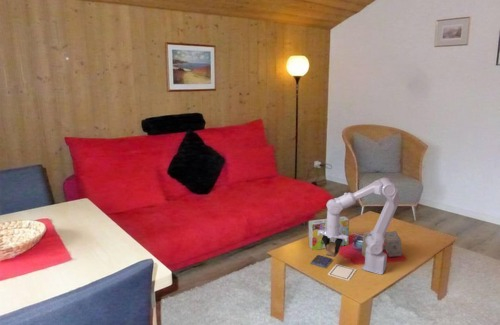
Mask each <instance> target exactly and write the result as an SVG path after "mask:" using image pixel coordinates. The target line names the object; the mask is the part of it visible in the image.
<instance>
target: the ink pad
mask: <svg viewBox="0 0 500 325" xmlns="http://www.w3.org/2000/svg"><path fill="white" fill-rule="evenodd" d="M332 262H333V258H331V257H329V256H328V257H327V256H325V255H321V254H317V255H316V256H315V257H314V258H313V259H312V260H311V261H310V262H309V264H310V265H312V266H315V267H316V266H317V267H319V268H323V269H327V267H328V266H329V265H330V264H331V263H332Z"/></svg>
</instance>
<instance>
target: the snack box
mask: <svg viewBox="0 0 500 325" xmlns="http://www.w3.org/2000/svg"><path fill="white" fill-rule="evenodd" d="M319 230H325V231H327V218H322V219H321V218H320V219H314V220H308V247H309V249H311V250H312V251H316V250H323V249H326V247H325V244H324V242H323V240H322V237H323V235H318V231H319ZM339 233H341V234H343V235H346V236H349V237H348V241H347V242H346V241H345V240H343V241H342V243H341V245H340V247H344V245H345V246H349V243H350V242H349V238H350V219H349V218H348V217H346V216H340V219H339ZM336 240H337V239H336V238H330V241H331V242H335V241H336Z"/></svg>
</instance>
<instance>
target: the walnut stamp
mask: <svg viewBox="0 0 500 325" xmlns="http://www.w3.org/2000/svg"><path fill="white" fill-rule="evenodd" d="M325 249H326V252H325V253H326V256H328V257H330V258H331V257H332V258H335V257H336V256H337V255H338V254H339V252H338V253H337V254H336V252H335V251H336V245H335V242H331V241H330V242H329V244H328V245H327V247H326V248H325Z"/></svg>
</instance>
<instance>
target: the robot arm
mask: <svg viewBox="0 0 500 325" xmlns="http://www.w3.org/2000/svg"><path fill="white" fill-rule="evenodd" d="M372 194H375V195H379V196H382V194H383V196H384V198H385V199H386V200H385V203H384V206H383V208H382V210H381V212H380V215H379V217H378V219H377V222H376V224H375V225H374V228H373V229H372V230H371V232H370V231H369V232H370V234H369V235H368V236H367V237H366V239H365V242H366V244H367V247H366V252H365V256H364V265H363V266H362V267H361V270H362V271H365V272H366V271H367V272H370V273H374V274H378V275H380V276H381V275H384V272H385V271H386V269H387V260H388V259H387V258H388V253H384V252H383V250H384V248H383V246H384V245H385V238H384V235H385V233H386V232H388V228H389V227H390V224H391V222H392V219H393V218H394V215H395V212H396V210H397V208H398V207H399V205H400V196H399V195H400V194H399V189H398V187H397V186H396V185H395V184H394V183H393V182H392V181H391V179H390V178H388V177H382V178H379V179H376V180H373V182H371V183H370V184H368V185H366V186H364V187H362V188H361V189H359V190H357V191H355V192H344V193H343V195H340V196H339V197H335V198H331V199H329V200H328V201H327V202H326V208H327V212H326V213H327V214H326V219H327V231H325V230H319V231H318V235H323V237H322V240H323V242H324V244H325V247H327V245H328V244H329V242H330V238H336V239H337V240H336V241H335V245H336V251H335V252H336V254H337V253H338V254H339V250H340V247H341V246H340V245H341V243H342V241H343V240H345V241H346V242H347V241H348V237H349V238H350V235H349V236H346V235H343V234H341V233H339V219H340V217H341V216H340V214H341V211H342V210H345V209H347V208H349V207H351V206H353V205H355V204H356V202H357V201H358V200H360V199H363V198H365V197H367V196H370V195H372ZM338 254H337V255H338Z"/></svg>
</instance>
